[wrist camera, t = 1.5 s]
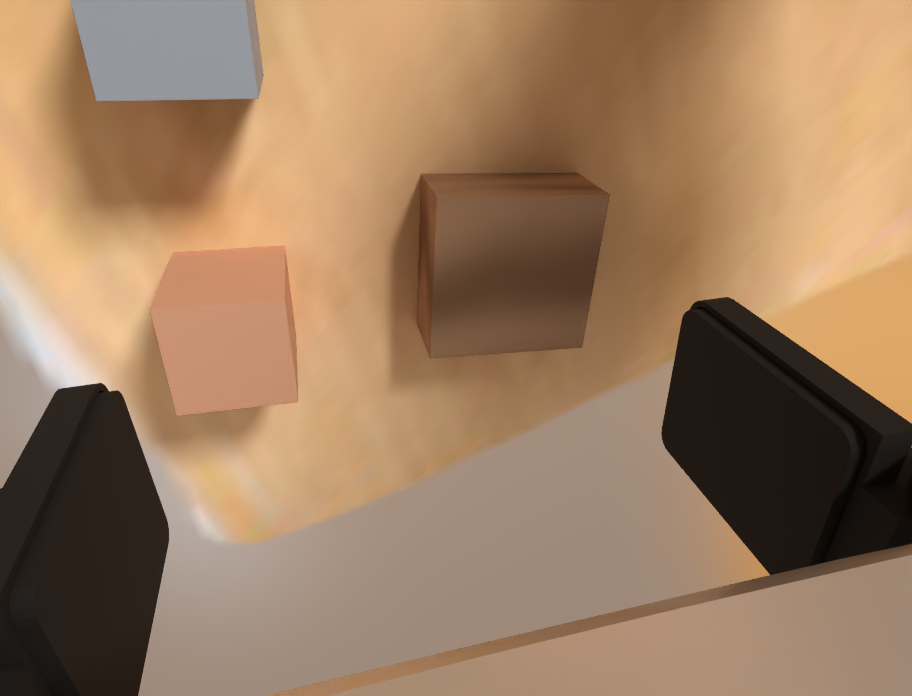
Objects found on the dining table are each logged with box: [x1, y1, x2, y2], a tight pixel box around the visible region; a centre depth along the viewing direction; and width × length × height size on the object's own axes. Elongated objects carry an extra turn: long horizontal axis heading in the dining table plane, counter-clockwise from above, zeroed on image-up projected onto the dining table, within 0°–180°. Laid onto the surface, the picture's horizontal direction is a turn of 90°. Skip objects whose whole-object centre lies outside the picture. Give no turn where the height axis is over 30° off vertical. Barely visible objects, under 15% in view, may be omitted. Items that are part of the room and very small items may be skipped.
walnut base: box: [417, 173, 609, 358], centre depth 31 cm, size 8×8×4 cm
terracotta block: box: [150, 246, 298, 416], centre depth 28 cm, size 5×5×6 cm
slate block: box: [70, 0, 263, 101], centre depth 22 cm, size 5×5×6 cm
